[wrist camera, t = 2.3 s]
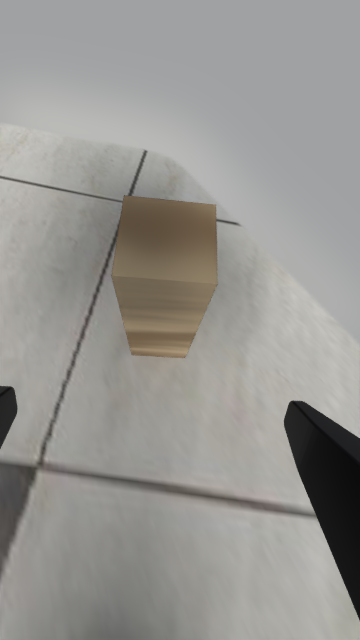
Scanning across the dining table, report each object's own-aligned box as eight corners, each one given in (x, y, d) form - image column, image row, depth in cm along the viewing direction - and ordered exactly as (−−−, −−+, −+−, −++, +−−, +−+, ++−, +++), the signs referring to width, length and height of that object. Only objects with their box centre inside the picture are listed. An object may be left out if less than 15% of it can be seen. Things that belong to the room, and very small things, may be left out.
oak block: (185, 357, 23) (217, 284, 12) (131, 354, 23) (111, 275, 11) (186, 310, 25) (216, 204, 13) (136, 306, 25) (124, 195, 13)
